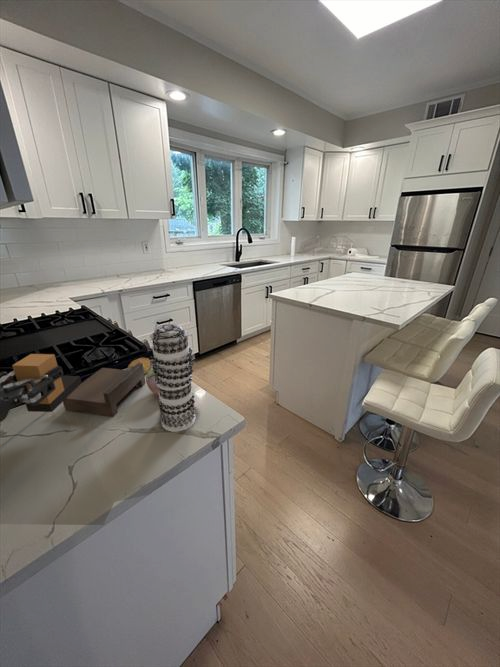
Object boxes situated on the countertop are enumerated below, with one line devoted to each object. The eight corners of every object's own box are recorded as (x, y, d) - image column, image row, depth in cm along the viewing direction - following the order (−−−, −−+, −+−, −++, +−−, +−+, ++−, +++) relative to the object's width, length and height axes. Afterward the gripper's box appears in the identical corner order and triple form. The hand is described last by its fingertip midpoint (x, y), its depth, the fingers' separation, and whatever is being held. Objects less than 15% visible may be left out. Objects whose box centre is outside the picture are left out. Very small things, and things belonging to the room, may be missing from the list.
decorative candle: (199, 429, 67) (192, 334, 57) (159, 436, 65) (145, 338, 55) (196, 406, 75) (189, 319, 66) (160, 411, 73) (148, 322, 63)
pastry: (135, 362, 98) (134, 352, 96) (155, 362, 98) (153, 352, 96) (125, 376, 89) (124, 366, 87) (147, 376, 89) (145, 365, 88)
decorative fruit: (166, 382, 86) (162, 353, 82) (185, 389, 82) (182, 360, 79) (141, 397, 79) (135, 366, 75) (161, 406, 75) (157, 374, 71)
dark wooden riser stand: (65, 410, 73) (58, 387, 70) (104, 378, 88) (100, 359, 85) (113, 416, 71) (108, 393, 68) (145, 383, 85) (142, 363, 83)
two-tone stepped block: (52, 412, 58) (37, 365, 54) (28, 411, 58) (11, 365, 54) (81, 383, 68) (71, 342, 64) (61, 382, 68) (49, 341, 64)
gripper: (-11, 406, 42) (74, 356, 57) (-87, 395, 44) (14, 349, 59) (5, 444, 45) (82, 387, 60) (-66, 432, 47) (25, 379, 62)
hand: (48, 368), depth 60 cm, fingers closed on two-tone stepped block, 5 cm apart
